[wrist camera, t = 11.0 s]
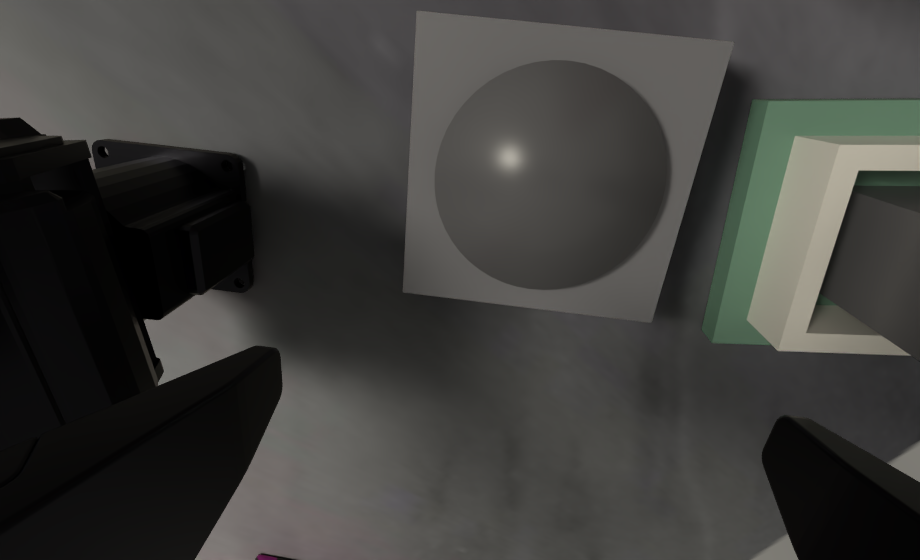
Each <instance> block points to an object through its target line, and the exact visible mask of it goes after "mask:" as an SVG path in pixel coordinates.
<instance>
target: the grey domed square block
mask: <svg viewBox="0 0 920 560" xmlns="http://www.w3.org/2000/svg"><path fill="white" fill-rule="evenodd" d="M733 45H734V42H729V41H719V40H709V39H699V38H689V37H679V36H668V35H658V34H648V33H638V32H628V31H618V30H608V29H598V28H587V27H577V26H567V25H557V24H547V23H537V22H527V21H516V20H506V19H496V18H486V17H476V16H466V15H456V14H445V13H435V12H425V11H417V16H416V36H415V56H414V76H413V95H412V115H411V135H410V155H409V175H408V195H407V215H406V235H405V254H404V274H403V292H404V293H412V294H420V295H428V296H436V297H444V298H453V299H461V300H469V301H477V302H485V303H493V304H501V305H509V306H517V307H526V308H534V309H542V310H550V311H558V312H566V313H574V314H582V315H590V316H598V317H607V318H615V319H623V320H631V321H639V322H647V323H652V319H653V316H654V313H655V309H656V306H657V302H658V299H659V296H660V292H661V289H662V285H663V282H664V279H665V275H666V272H667V269H668V265H669V262H670V258H671V255H672V252H673V248H674V245H675V242H676V238H677V235H678V231H679V228H680V225H681V221H682V218H683V214H684V211H685V208H686V204H687V201H688V198H689V194H690V191H691V187H692V184H693V181H694V177H695V174H696V170H697V167H698V164H699V160H700V157H701V154H702V150H703V147H704V143H705V140H706V137H707V133H708V130H709V126H710V123H711V120H712V116H713V113H714V110H715V106H716V103H717V99H718V96H719V93H720V89H721V86H722V83H723V79H724V76H725V72H726V69H727V66H728V62H729V59H730V55H731V52H732V49H733Z"/></svg>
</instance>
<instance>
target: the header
mask: <svg viewBox="0 0 920 560" xmlns="http://www.w3.org/2000/svg"><path fill="white" fill-rule="evenodd" d="M854 185H864V186H920V98H902V99H752V104H751V108H750V113H749V117H748V122H747V126H746V131H745V135H744V140H743V144H742V149H741V153H740V158H739V162H738V167H737V171H736V176H735V180H734V185H733V189H732V194H731V199H730V203H729V208H728V212H727V217H726V221H725V226H724V230H723V235H722V239H721V244H720V248H719V253H718V257H717V262H716V266H715V271H714V275H713V280H712V284H711V289H710V294H709V298H708V303H707V307H706V312H705V316H704V321H703V325H702V331H703V332H704V334H705V335H706V336H707V337H708V339H709V340H710V341H711V343H723V344H752V345H772V346H773V347H774V348H775V349H776V350H777V351H793V352H821V353H849V354H878V355H906V356H911V355H909V354H908V353H906V352H905V351H904V350H902V349H901V348H899V347H898V346H896V345H895V344H893V343H892V342H890V341H889V340H887V339H886V338H884V337H883V336H882V335H880V334H879V333H877V332H876V331H874V330H873V329H871V328H870V327H868V326H867V325H865V324H864V323H862V322H861V321H860V320H858V319H857V318H855V317H854V316H852V315H851V314H849V313H848V312H846V311H845V310H843V309H842V308H841V307H839V306H838V305H836V304H835V303H833V302H832V301H830V300H829V299H827V298H826V297H824V296H823V295H821V294H820V293H819V291H820V288H821V285H822V282H823V279H824V276H825V273H826V270H827V267H828V264H829V261H830V257H831V254H832V251H833V248H834V245H835V242H836V239H837V236H838V233H839V230H840V226H841V223H842V220H843V217H844V214H845V211H846V208H847V205H848V202H849V199H850V195H851V192H852V189H853V186H854Z"/></svg>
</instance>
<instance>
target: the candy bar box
mask: <svg viewBox="0 0 920 560" xmlns="http://www.w3.org/2000/svg"><path fill="white" fill-rule="evenodd" d="M255 560H288V559H282V558H277V557H272V556H266V555H260V554H259V555H258V556H257V557H256V559H255Z"/></svg>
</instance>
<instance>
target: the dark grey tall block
mask: <svg viewBox="0 0 920 560" xmlns="http://www.w3.org/2000/svg"><path fill="white" fill-rule="evenodd" d="M819 293H820V294H821V295H823V296H824V297H826V298H827V299H829V300H830V301H832V302H833V303H835V304H836V305H838V306H839V307H841V308H842V309H843V310H845V311H846V312H848V313H849V314H851V315H852V316H854V317H855V318H857V319H858V320H860V321H861V322H862V323H864V324H865V325H867V326H868V327H870V328H871V329H873V330H874V331H876V332H877V333H879V334H880V335H882V336H883V337H884V338H886V339H887V340H889V341H890V342H892V343H893V344H895V345H896V346H898V347H899V348H901V349H902V350H904V351H905V352H906V353H908V354H909V355H911V356H912V357H914V358H915V359H917V360H918V361H920V186H864V185H854V186H853V189H852V192H851V195H850V199H849V202H848V205H847V208H846V211H845V214H844V217H843V220H842V223H841V226H840V230H839V233H838V236H837V239H836V242H835V245H834V248H833V251H832V254H831V257H830V261H829V264H828V267H827V270H826V273H825V276H824V279H823V282H822V285H821V288H820V291H819Z"/></svg>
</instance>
